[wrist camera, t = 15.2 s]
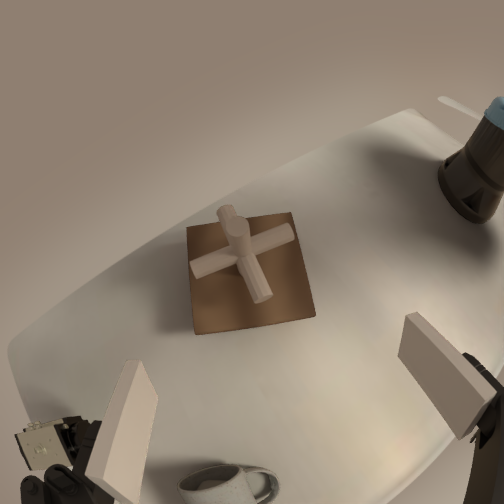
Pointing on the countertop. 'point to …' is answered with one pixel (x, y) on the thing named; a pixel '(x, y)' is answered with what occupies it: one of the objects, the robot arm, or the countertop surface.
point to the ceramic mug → (224, 486)
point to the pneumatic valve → (52, 442)
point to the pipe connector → (243, 252)
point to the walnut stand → (234, 286)
